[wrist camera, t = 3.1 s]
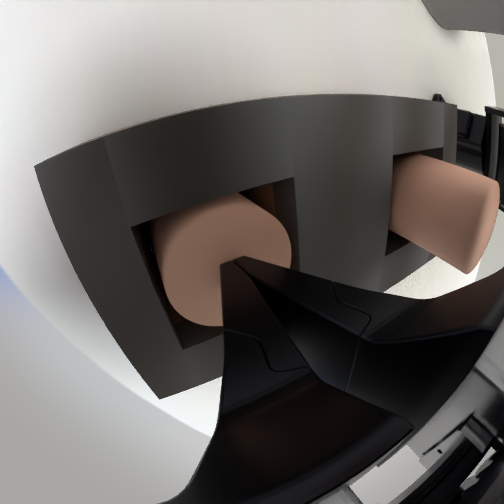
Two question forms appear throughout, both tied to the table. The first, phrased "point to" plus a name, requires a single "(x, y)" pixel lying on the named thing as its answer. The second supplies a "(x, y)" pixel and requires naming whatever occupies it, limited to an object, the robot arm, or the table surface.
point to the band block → (251, 187)
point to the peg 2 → (443, 208)
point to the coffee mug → (468, 14)
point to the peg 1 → (212, 250)
